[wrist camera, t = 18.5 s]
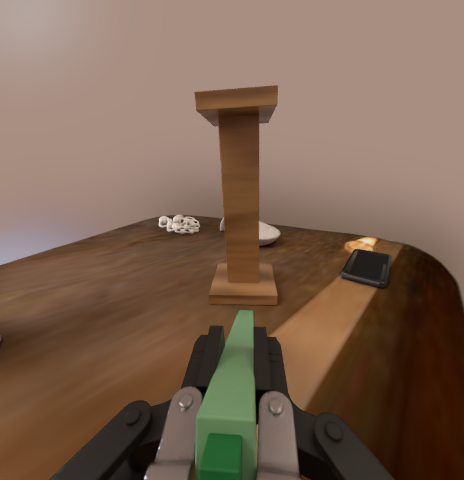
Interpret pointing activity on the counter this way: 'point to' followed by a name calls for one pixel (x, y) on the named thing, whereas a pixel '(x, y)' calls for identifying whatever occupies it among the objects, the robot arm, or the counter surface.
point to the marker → (229, 411)
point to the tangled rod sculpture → (177, 226)
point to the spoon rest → (262, 233)
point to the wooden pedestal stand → (240, 192)
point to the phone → (368, 268)
